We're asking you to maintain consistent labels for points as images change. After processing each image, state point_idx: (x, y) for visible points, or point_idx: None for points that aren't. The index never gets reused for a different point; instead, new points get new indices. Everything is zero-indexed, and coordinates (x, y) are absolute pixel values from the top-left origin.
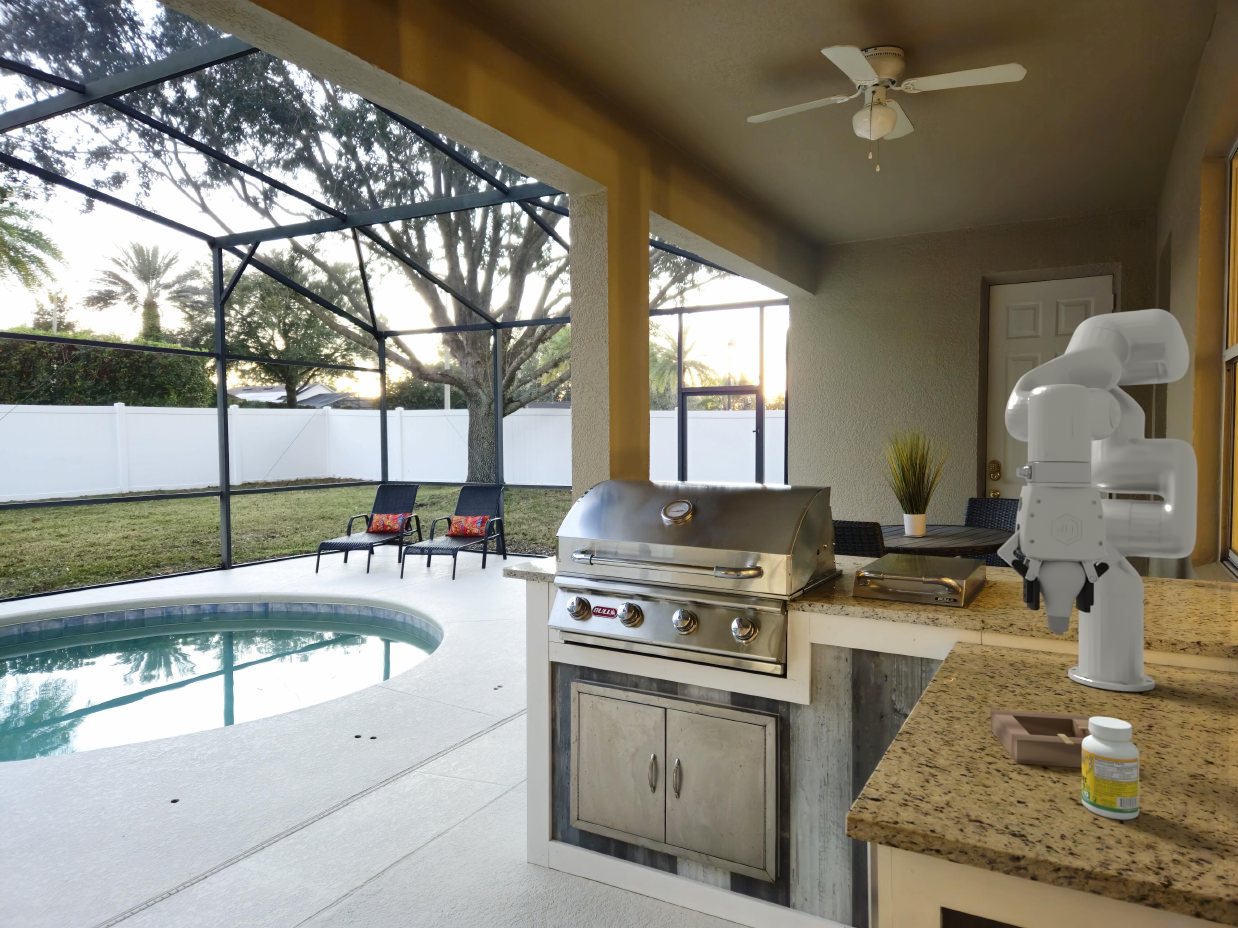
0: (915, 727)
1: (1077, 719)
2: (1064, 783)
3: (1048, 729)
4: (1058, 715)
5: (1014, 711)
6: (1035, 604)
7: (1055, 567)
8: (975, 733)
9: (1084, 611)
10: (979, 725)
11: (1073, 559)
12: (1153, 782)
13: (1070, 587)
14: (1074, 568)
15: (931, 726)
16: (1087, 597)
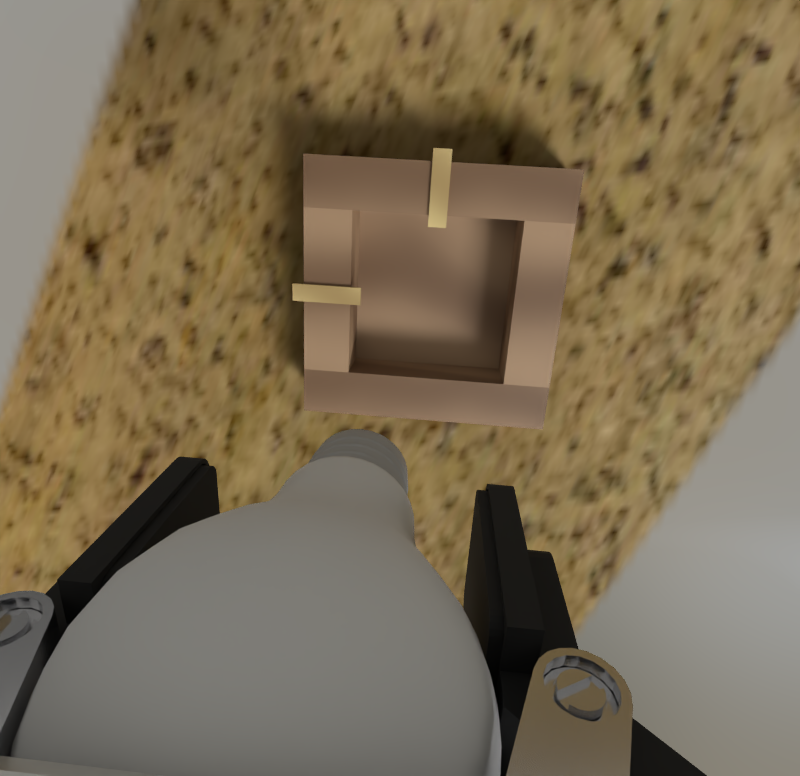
0: (726, 409)
1: (335, 370)
2: (505, 33)
3: (410, 366)
4: (373, 399)
5: (481, 419)
6: (508, 503)
7: (353, 698)
8: (581, 382)
9: (212, 466)
10: (545, 441)
11: (66, 772)
12: (273, 83)
13: (262, 507)
14: (130, 658)
15: (678, 421)
16: (152, 504)
